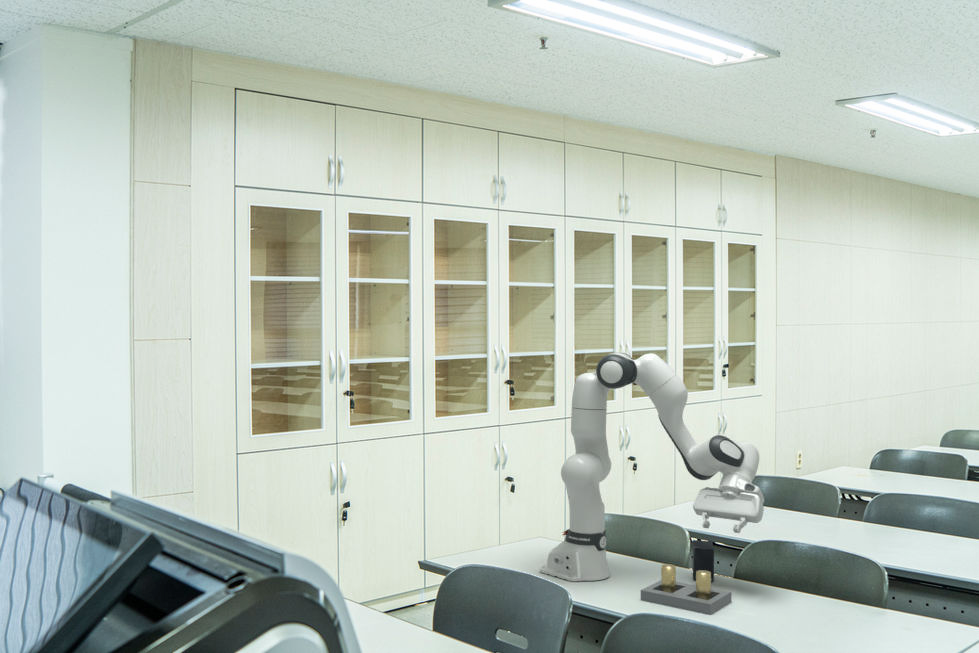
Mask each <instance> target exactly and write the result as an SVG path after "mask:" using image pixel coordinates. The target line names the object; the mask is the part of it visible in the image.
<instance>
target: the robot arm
mask: <svg viewBox="0 0 979 653" xmlns="http://www.w3.org/2000/svg"><path fill="white" fill-rule="evenodd" d="M631 384H636V385H638V386H639V387H640V388H641V389H642V390H643V392H644V393H645V394H646V396H648V398H649V399H650V401H651V402H652V404H653V406H654V407H655V409H656V411H657V414H658V418H659V421H660V423H661V426H662V427H663V428H664V430H665V432H666V434H667V435H668V437H669V439H670V440H671V442H672V443H673V445H674V446H675V448H676V449H677V451H678V452H679V454H680V456H681V459H682V461H683V464H684V466H685V468H686V470H687V472H688V473H689V474H690V475H691V476H692V477H693V478H695V479H697V480H699V481H707V480H710V479H712V478H713V477H714V476H715V475H716V474H718V473H719V472H720V473H721V474H722V477H721V480H720V483H719V485H718V487H717V488H715V487H707V486H706V487H704V488H702V489H700V490H699V491H698V494H697V496H696V498H695V500H694V501H693V504H692V509H693V511H694V513H695V514H696V515H697V516H702V523H701V524H702V527H703V529H709V528H710V526H711V523H710V521H709V518H717V519H724V520H731V521H739V522H738V523H737V524H735V523H734V525H733V528H732V530H733V533H737V534H740V533H741V530H742V529H743V528H744V527H745V526H747V524H748V523H752V524H759V523H760V522H761V521H762V519H763V515H764V510H765V509H764V503H765V498H764V495H763V492H762V491H761V489H760V487H759V486H757V485H755V484H753V480H754V479H755V478H756V475H757V471H758V468H759V465H760V454H759V450H758V449H757V447H756V446H754V444H752V443H750V442H748V441H742V440H741V441H735V440H731V438H729V437H727V436H725V435H722V434H720V435H719V434H716V435H713V436H712V437H711V438H709V439H707V440H706V441H704V442H703V443H701V444H699V443H698V442H696V440H695V439H694V437H693V436H692V434H691V432H690V431H689V430H688V428H687V427H686V425H685V423H684V419H683V413H684V410H685V407H686V405H687V403H688V402H687V401H688V395H689V394H688V389H687V387H686V385H685V383H684V381H683V380H682V379H681V378H680V377H679V376H678V374H677V373H676V372H675V371H674V369H672V367H671V366H669V365H668V363H667V362H666V361H665V360H663V359H662V358H661V357H660V356H659V355H657V354H655V353H652V352H650V353H645V354H643V355H641V356H640V357H638V358H637V359H634V358H632V357H631V356H630V355H629V354H627V353H626V352H625V353H624V352H611V353H609V354H607V355H605V356H603V357H601V359H600V360H599V361H598V363H597V365H596V369H595V371H593V372H585V373H581V374H580V375H578V376H577V377H576V379H575V381H574V386H573V392H572V399H571V413H570V415H571V417H570V418H571V419H570V432H571V435H572V437H573V442H574V447H575V454H573V455H571V456H569V457H568V458H567V459H566V460H565V462H564V463H563V464H562V467H561V469H560V475H561V480H562V482H563V483H564V485H565V489H566V494H567V500H568V505H569V506H568V507H569V508H568V509H569V528H568V529H566V530H565V531H562V532H561V533H562V536H565V538H564V540H563V541H561V542H560V543H559V544H558V545H557V546H555V547H553V548H552V549H551V550H550V552H548V556H547V560H546V564H543V565H542V566H540V568H539V572H540V573H543V574H545V575H548V574H549V576H553V577H555V576H557V577H556V578H559V579H563V580H565V579H566V581H569V582H582V581H589V582H591V581H601V580H605V579H607V578H610V576H611V574H610V570H609V566H608V561H607V560H608V558H607V552H606V550H607V549H606V548H607V531H606V528H605V527H606V526H605V524H606V522H605V521H606V519H605V517H606V514H605V504H604V502H603V499H602V494H601V489H600V483H601V482H603V481H604V480H605V479H606V478H607V477H608V475H610V472H611V470H612V460H611V458H610V454H609V447H608V440H607V410H608V409H607V408H608V405H607V403H608V394H609V392H610V390H613V389H614V390H616V389H620V388H624V387H626V386H628V385H631Z"/></svg>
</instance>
